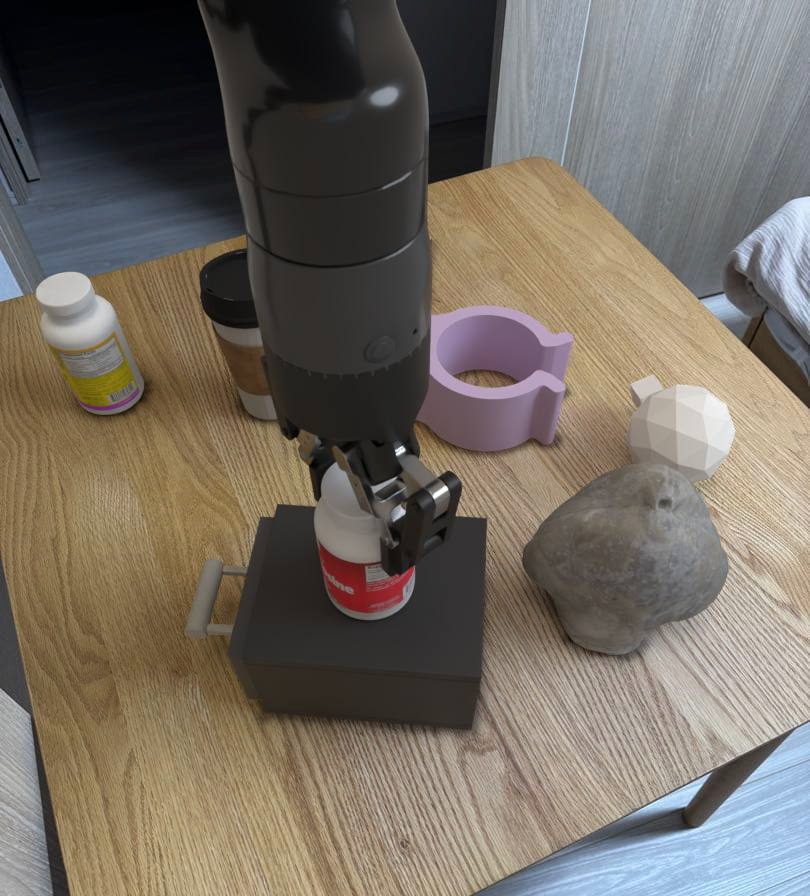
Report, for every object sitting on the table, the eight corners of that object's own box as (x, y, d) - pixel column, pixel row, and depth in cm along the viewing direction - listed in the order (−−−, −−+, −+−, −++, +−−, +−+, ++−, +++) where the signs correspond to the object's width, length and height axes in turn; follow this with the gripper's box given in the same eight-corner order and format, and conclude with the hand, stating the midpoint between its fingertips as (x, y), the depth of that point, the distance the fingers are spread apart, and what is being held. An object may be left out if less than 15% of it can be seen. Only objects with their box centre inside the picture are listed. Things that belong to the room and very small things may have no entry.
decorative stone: (513, 649, 59) (539, 544, 47) (515, 541, 65) (539, 423, 53) (707, 666, 58) (786, 563, 46) (692, 555, 64) (759, 437, 52)
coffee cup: (213, 399, 75) (173, 271, 63) (278, 357, 78) (252, 227, 66) (266, 443, 72) (235, 317, 59) (332, 397, 75) (316, 269, 63)
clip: (343, 427, 73) (337, 375, 67) (375, 342, 79) (373, 287, 74) (549, 463, 70) (561, 411, 64) (564, 372, 77) (577, 317, 71)
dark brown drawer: (191, 694, 57) (163, 649, 50) (225, 566, 63) (204, 511, 56) (440, 715, 55) (443, 671, 49) (449, 583, 62) (453, 529, 55)
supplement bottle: (89, 370, 78) (37, 262, 67) (152, 371, 77) (110, 263, 67) (70, 417, 74) (12, 312, 63) (137, 419, 74) (90, 313, 63)
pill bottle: (313, 564, 53) (292, 462, 44) (393, 535, 54) (390, 430, 45) (345, 637, 49) (330, 544, 40) (429, 604, 51) (433, 506, 42)
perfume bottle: (753, 483, 66) (688, 400, 74) (755, 411, 59) (683, 328, 67) (660, 522, 67) (605, 437, 75) (650, 456, 60) (591, 369, 68)
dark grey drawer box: (265, 712, 57) (240, 658, 49) (294, 571, 64) (276, 503, 56) (471, 730, 56) (481, 677, 48) (477, 584, 63) (487, 517, 55)
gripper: (524, 357, 31) (489, 572, 44) (317, 202, 37) (342, 434, 51) (381, 447, 28) (391, 646, 42) (183, 264, 34) (249, 490, 48)
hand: (364, 529), depth 46 cm, fingers closed on pill bottle, 6 cm apart
